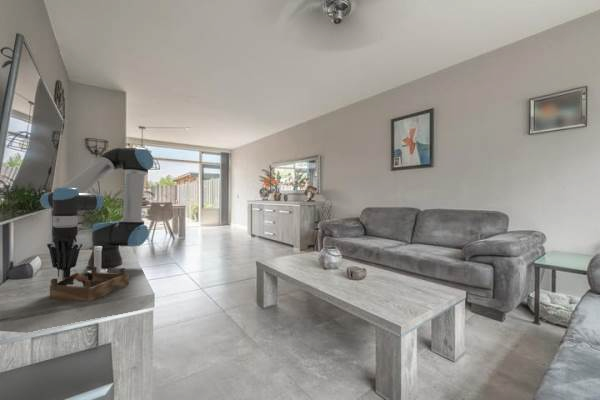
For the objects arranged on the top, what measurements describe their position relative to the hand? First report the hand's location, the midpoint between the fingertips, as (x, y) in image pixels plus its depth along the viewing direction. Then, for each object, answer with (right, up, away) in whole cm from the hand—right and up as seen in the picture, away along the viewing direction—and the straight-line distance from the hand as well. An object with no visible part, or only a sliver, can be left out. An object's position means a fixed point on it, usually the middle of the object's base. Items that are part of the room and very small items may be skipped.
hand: (63, 285), depth 103 cm
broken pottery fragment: (+6, -2, -1) cm, 7 cm away
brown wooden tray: (+11, -2, -1) cm, 12 cm away
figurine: (+3, -2, +13) cm, 14 cm away
